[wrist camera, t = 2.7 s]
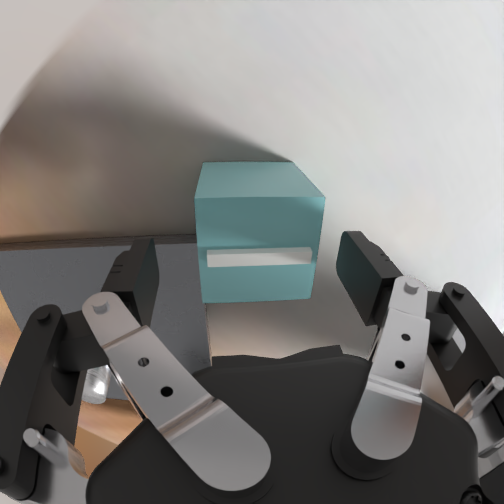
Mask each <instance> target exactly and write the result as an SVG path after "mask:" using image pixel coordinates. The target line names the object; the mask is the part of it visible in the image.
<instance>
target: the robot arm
mask: <svg viewBox="0 0 504 504" xmlns="http://www.w3.org/2000/svg"><path fill="white" fill-rule="evenodd" d="M336 269H337V274H338V276H339V278H340V280H341V282H342V283H343V285H344V287H345V289H346V291H347V292H348V294H349V296H350V298H351V299H352V301H353V303H354V305H355V307H356V309H357V310H358V312H359V314H360V316H361V318H362V320H363V322H364V323H365V325H366V326H370V325H376V324H377V326H378V328H377V331H376V333H375V336H374V339H373V342H372V345H371V348H370V351H369V354H368V356H367V359H364V358H361V357H358V356H354V355H349V354H343V353H342V350H341V348H340V345H335V346H328V347H320V348H312V349H308V350H305V351H302V352H299V353H296V354H293V355H290V356H287V357H284V358H281V359H275V358H266V357H257V356H249V355H234V356H213V357H212V366H210V367H206V368H204V369H201V370H198V371H196V372H194V373H192V374H190V373H189V372H188V371H187V370H186V369H185V368H184V367H183V366H182V365H181V364H180V362H179V361H178V360H177V359H176V358H175V357H174V356H173V355H172V354H171V352H170V351H169V350H168V349H167V348H166V347H165V346H164V344H163V343H162V342H161V341H160V340H159V339H158V337H157V336H156V335H155V334H154V333H153V331H152V330H151V329H150V325H151V320H152V315H153V310H154V305H155V300H156V296H157V291H158V287H159V267H158V261H157V256H156V249H155V243H154V239H153V238H136V239H135V240H134V242H133V244H132V246H131V248H130V250H128V251H123V252H122V253H121V254H120V255H118V256H117V257H116V259H115V261H114V263H113V265H112V267H111V269H110V271H109V273H108V276H107V278H106V280H105V282H104V284H103V287H102V289H101V291H100V293H97V294H94V295H92V296H91V297H89V298H88V299H87V300H86V301H85V302H84V304H83V306H82V310H80V311H76V312H72V313H68V314H62V312H61V309H60V308H59V307H58V306H57V305H54V304H47V305H44V306H41V307H39V308H37V309H36V310H35V311H34V312H33V313H32V314H31V315H30V317H29V319H28V321H27V323H26V325H25V327H24V329H23V331H22V334H21V336H20V338H19V340H18V342H17V345H16V347H15V349H14V352H13V354H12V357H11V359H10V361H9V364H8V366H7V369H6V372H5V374H4V377H3V380H2V382H1V385H0V492H2V493H4V494H6V495H7V496H8V497H10V498H11V499H13V500H15V501H17V502H19V503H21V504H504V336H503V335H502V333H501V332H500V331H499V329H498V328H497V326H496V325H495V324H494V322H493V321H492V320H491V318H490V317H489V316H488V314H487V313H486V312H485V310H484V309H483V308H482V307H481V305H480V304H479V303H478V302H477V300H476V299H475V298H474V297H473V295H472V294H471V293H470V292H469V291H468V290H467V289H466V288H465V287H464V286H462V285H460V284H458V283H454V282H449V283H446V284H445V285H444V287H443V289H442V292H441V293H440V292H432V291H427V288H426V286H425V285H424V284H423V283H422V282H421V281H420V280H418V279H416V278H414V277H410V276H403V274H402V273H401V272H400V271H399V269H398V268H397V267H396V266H395V265H394V263H393V262H392V261H390V259H389V257H388V256H387V255H386V254H385V253H384V252H383V250H382V249H381V248H380V247H379V246H377V245H375V244H374V243H372V242H369V240H368V239H367V238H366V237H365V236H364V235H363V233H362V232H361V231H344V232H343V233H342V236H341V241H340V247H339V252H338V257H337V262H336ZM106 365H107V366H108V368H109V369H110V371H111V373H112V374H113V376H114V378H115V379H116V381H117V382H118V384H119V386H120V387H121V389H122V390H123V392H124V393H125V395H126V396H127V398H128V400H129V401H130V403H131V404H132V406H133V407H134V409H135V410H136V412H137V413H138V415H139V416H140V418H141V419H142V422H141V423H140V424H139V425H138V426H137V427H136V428H135V429H134V430H133V431H132V432H131V433H130V434H129V435H128V436H127V437H126V438H125V439H124V440H123V441H122V442H121V443H120V444H119V445H118V446H117V447H116V448H115V449H114V450H113V451H112V452H111V453H110V454H109V455H108V456H107V457H106V458H105V459H104V460H103V461H102V462H101V463H100V464H99V465H98V466H97V467H96V468H95V469H94V471H93V472H92V473H91V475H90V477H89V478H88V476H87V474H86V471H85V462H84V458H83V456H82V454H81V453H80V452H79V450H78V449H76V448H75V447H74V443H75V436H76V429H77V423H78V416H79V411H80V405H81V400H82V394H83V389H84V384H85V380H86V375H87V370H88V369H92V368H97V367H101V366H106Z"/></svg>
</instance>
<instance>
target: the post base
mask: <svg viewBox="0 0 504 504" xmlns="http://www.w3.org/2000/svg"><path fill="white" fill-rule="evenodd" d="M136 238H153V239H154V243H155V249H156V256H157V261H158V267H159V287H158V291H157V296H156V300H155V305H154V310H153V315H152V320H151V325H150V329H151V330H152V331H153V333H154V334H155V335H156V336H157V337H158V339H159V340H160V341H161V342H162V343H163V344H164V346H165V347H166V348H167V349H168V350H169V351H170V352H171V354H172V355H173V356H174V357H175V358H176V359H177V360H178V361H179V362H180V364H181V365H182V366H183V367H184V368H185V369H186V370H187V371H188V372H189V373H190V374H192V373H194V372H196V371H198V370H201V369H204V368H206V367H210V366H212V358H211V350H210V341H209V332H208V322H207V313H206V303H203V302H202V293H201V282H200V271H199V260H198V247H197V234H188V235H160V236H135V237H113V238H92V239H73V240H55V241H38V242H22V243H7V244H0V290H1V293H2V295H3V297H4V299H5V301H6V303H7V305H8V307H9V309H10V311H11V313H12V315H13V317H14V319H15V321H16V323H17V325H18V326H19V328H20V330H21V332H22V331H23V329H24V327H25V325H26V323H27V321H28V319H29V317H30V315H31V314H32V313H33V312H34V311H35V310H36V309H37V308H39V307H41V306H44V305H47V304H54V305H57V306H58V307H59V308H60V309H61V312H62V314H68V313H72V312H76V311H80V310H82V306H83V304H84V302H85V301H86V300H87V299H88V298H89V297H91V296H92V295H94V294H97V293H100V291H101V289H102V287H103V284H104V282H105V280H106V278H107V276H108V273H109V271H110V269H111V267H112V265H113V263H114V261H115V259H116V257H117V256H118V255H120V254H121V253H122V252H123V251H128V250H130V248H131V246H132V244H133V242H134V240H135V239H136ZM106 398H112V399H121V400H128V398H127V396H126V395H125V393H124V392H123V390H122V389H121V387H120V386H119V384H118V382H117V381H116V379H115V378H114V376H113V374H112V373H111V371H110V369H109V368H108V366H107V365H106V366H101V367H97V368H92V369H88V370H87V375H86V380H85V384H84V389H83V394H82V400H83V401H86V402H89V403H93V404H101V403H104V402H105V400H106Z"/></svg>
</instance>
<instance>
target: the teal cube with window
mask: <svg viewBox="0 0 504 504" xmlns="http://www.w3.org/2000/svg"><path fill="white" fill-rule="evenodd" d="M194 204H195V220H196V234H197V247H198V260H199V271H200V282H201V293H202V302H203V303H233V302H257V301H278V300H295V299H310V297H311V292H312V286H313V280H314V274H315V268H316V261H317V255H318V248H319V242H320V235H321V227H322V220H323V212H324V205H325V196H324V195H323V194H322V193H321V192H320V191H319V190H318V188H317V187H316V186H315V185H314V184H313V183H312V182H311V181H310V180H309V179H308V178H307V176H306V175H305V174H304V173H303V172H302V171H301V170H300V169H299V168H298V167H297V166H296V165H295V164H294V163H293V162H203V165H202V169H201V173H200V177H199V181H198V185H197V189H196V193H195V197H194Z"/></svg>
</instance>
